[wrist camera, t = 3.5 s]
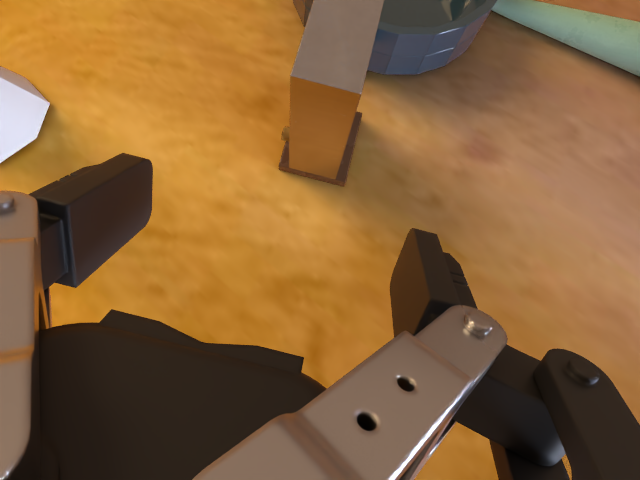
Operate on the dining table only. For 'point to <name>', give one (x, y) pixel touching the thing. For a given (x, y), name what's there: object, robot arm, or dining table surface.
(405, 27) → the bowl
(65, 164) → the dining table surface
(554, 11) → the mint green cone
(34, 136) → the flask
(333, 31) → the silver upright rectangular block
